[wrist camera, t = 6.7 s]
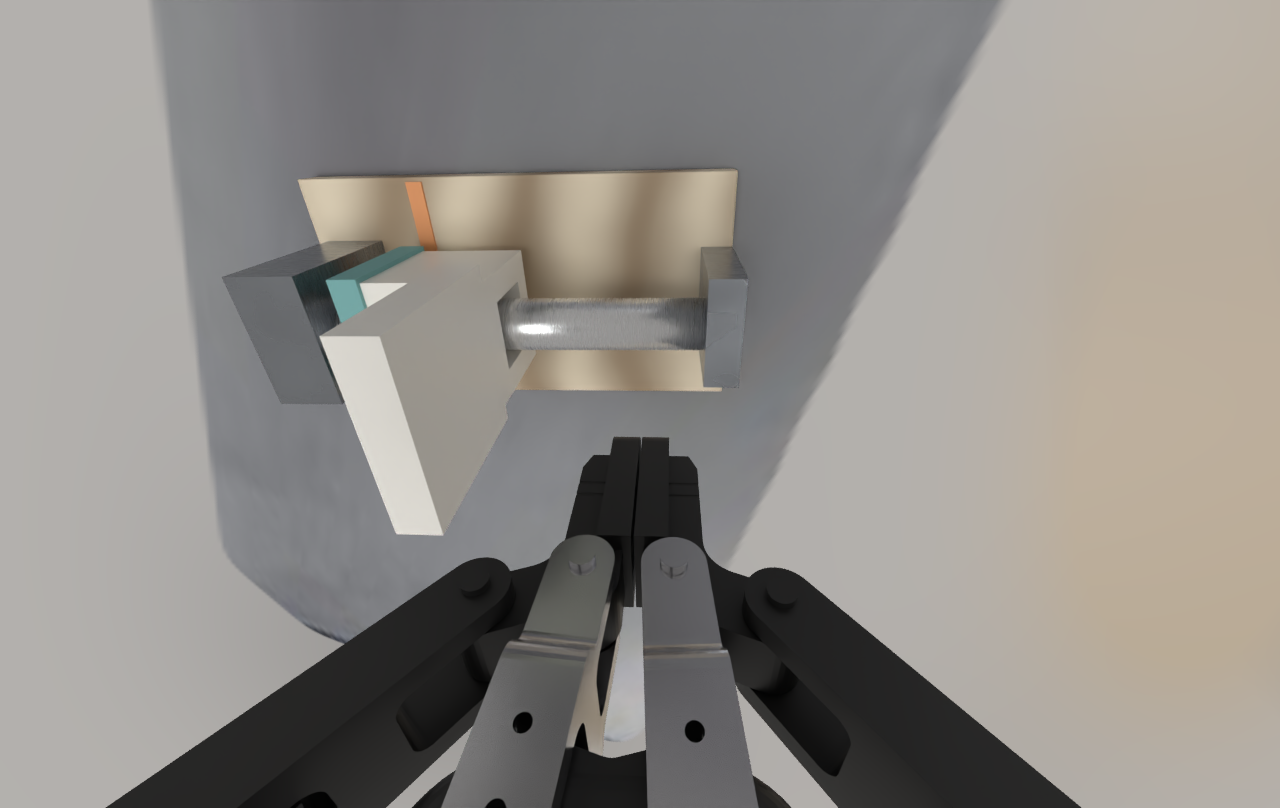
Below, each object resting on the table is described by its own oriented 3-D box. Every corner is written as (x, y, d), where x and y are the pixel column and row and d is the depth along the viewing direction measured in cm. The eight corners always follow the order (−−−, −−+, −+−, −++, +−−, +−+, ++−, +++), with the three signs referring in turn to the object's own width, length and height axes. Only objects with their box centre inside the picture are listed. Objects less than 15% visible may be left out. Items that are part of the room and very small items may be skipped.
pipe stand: (734, 168, 24) (762, 187, 17) (719, 379, 30) (735, 462, 23) (316, 176, 25) (171, 198, 18) (383, 377, 31) (295, 454, 24)
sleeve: (518, 235, 23) (379, 336, 12) (537, 365, 27) (443, 535, 16) (418, 236, 23) (194, 336, 12) (450, 365, 27) (297, 531, 16)
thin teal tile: (423, 246, 24) (354, 279, 19) (450, 355, 27) (397, 410, 22) (400, 246, 24) (325, 280, 19) (429, 355, 27) (372, 410, 22)
